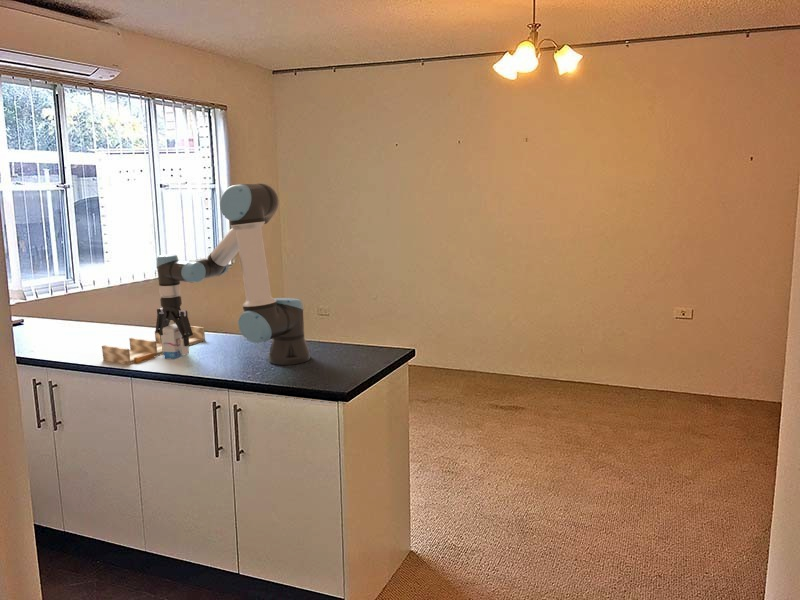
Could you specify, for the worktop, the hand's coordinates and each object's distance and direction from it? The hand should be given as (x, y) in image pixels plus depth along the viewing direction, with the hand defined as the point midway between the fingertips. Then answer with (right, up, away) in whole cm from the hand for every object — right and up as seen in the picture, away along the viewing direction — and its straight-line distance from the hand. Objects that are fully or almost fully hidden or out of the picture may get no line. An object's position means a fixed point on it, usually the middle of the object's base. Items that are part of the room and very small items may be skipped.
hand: (175, 352), depth 258 cm
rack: (-11, 0, +10) cm, 14 cm away
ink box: (0, -2, 0) cm, 2 cm away
